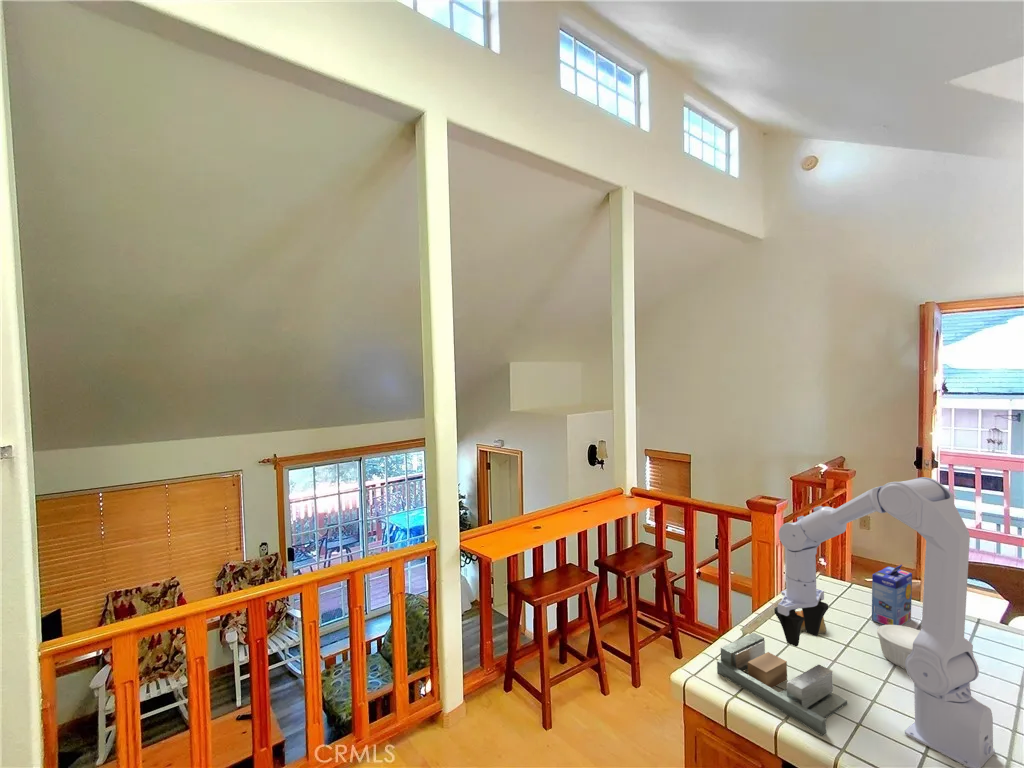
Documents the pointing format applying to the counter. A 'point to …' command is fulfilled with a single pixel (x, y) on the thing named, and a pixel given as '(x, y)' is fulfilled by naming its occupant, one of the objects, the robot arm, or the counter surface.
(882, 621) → the ink cartridge box
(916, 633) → the ramekin
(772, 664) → the block
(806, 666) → the counter surface
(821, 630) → the pastry
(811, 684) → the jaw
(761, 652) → the vise body
